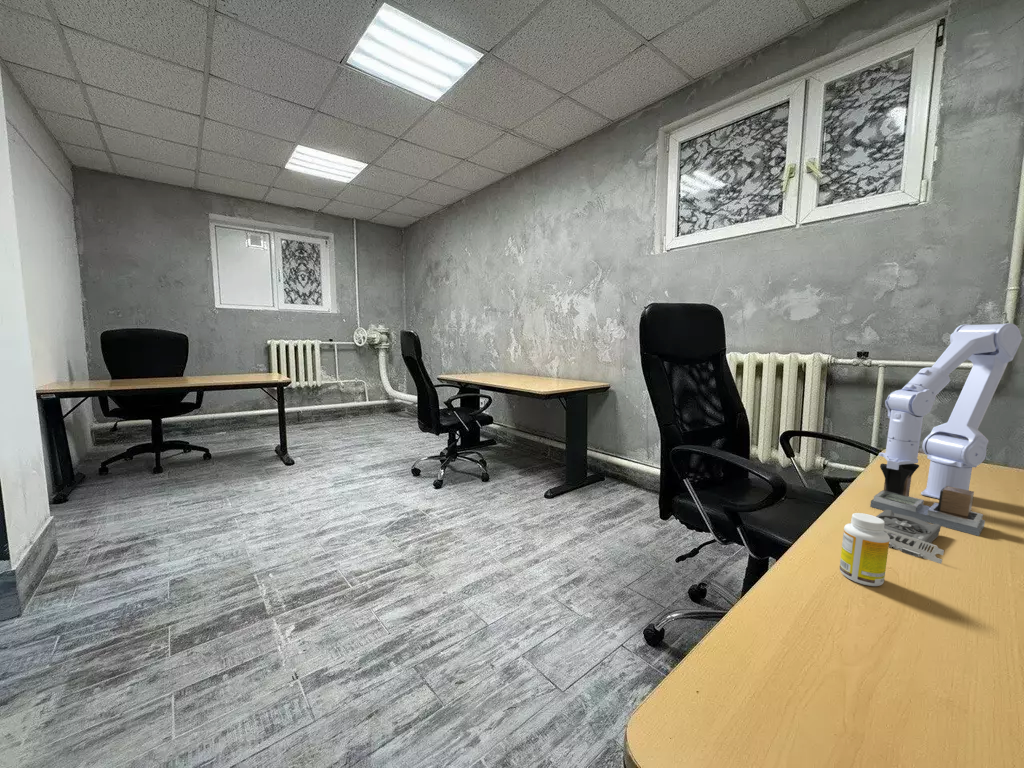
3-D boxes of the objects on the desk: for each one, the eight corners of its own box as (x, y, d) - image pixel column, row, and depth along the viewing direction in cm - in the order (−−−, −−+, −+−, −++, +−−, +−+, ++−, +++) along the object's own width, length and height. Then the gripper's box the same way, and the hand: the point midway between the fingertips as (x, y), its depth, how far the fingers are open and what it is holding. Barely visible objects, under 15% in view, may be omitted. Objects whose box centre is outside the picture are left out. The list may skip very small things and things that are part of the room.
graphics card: (942, 549, 70) (856, 521, 80) (938, 570, 71) (853, 539, 81) (963, 527, 80) (883, 504, 89) (959, 545, 80) (880, 520, 90)
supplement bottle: (890, 582, 65) (899, 522, 64) (872, 591, 63) (881, 528, 61) (849, 565, 70) (856, 508, 69) (831, 572, 68) (838, 513, 66)
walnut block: (886, 494, 104) (890, 471, 103) (908, 499, 101) (911, 476, 100) (882, 498, 102) (885, 474, 101) (903, 503, 98) (907, 479, 98)
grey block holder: (879, 499, 100) (883, 470, 99) (984, 526, 86) (989, 492, 86) (870, 506, 96) (874, 476, 95) (978, 536, 82) (984, 500, 81)
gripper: (889, 432, 107) (883, 482, 108) (873, 439, 99) (866, 493, 100) (927, 438, 101) (919, 490, 103) (913, 446, 93) (905, 502, 94)
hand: (896, 492), depth 101 cm, fingers closed on walnut block, 4 cm apart
